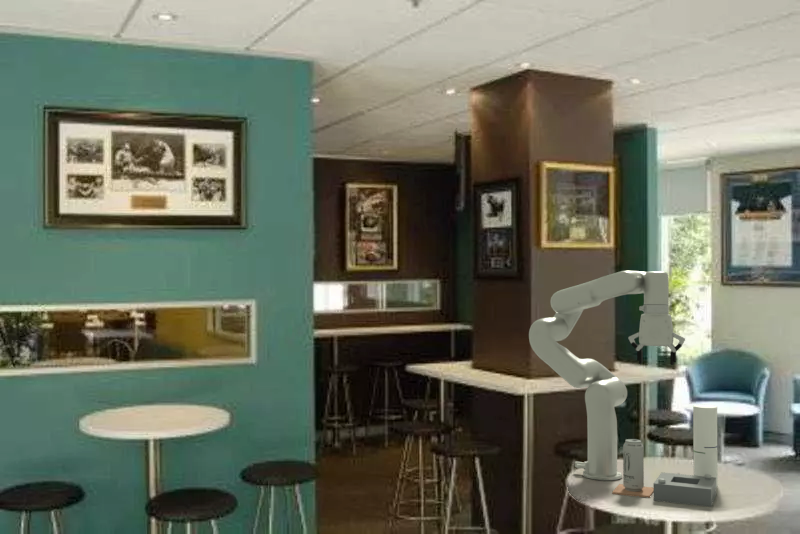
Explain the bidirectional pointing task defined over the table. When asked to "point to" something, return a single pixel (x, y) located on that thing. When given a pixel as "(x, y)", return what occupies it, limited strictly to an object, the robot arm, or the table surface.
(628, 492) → the coaster
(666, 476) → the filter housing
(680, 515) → the table surface
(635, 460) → the energy drink can
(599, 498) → the table surface
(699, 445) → the cylindrical container
